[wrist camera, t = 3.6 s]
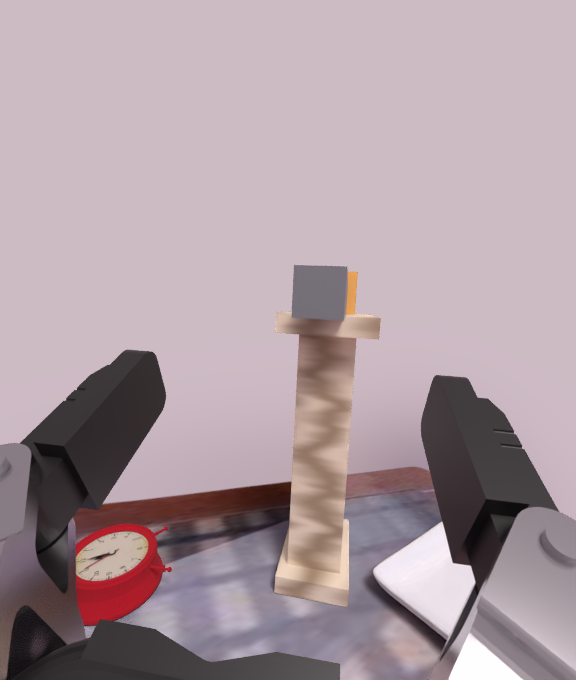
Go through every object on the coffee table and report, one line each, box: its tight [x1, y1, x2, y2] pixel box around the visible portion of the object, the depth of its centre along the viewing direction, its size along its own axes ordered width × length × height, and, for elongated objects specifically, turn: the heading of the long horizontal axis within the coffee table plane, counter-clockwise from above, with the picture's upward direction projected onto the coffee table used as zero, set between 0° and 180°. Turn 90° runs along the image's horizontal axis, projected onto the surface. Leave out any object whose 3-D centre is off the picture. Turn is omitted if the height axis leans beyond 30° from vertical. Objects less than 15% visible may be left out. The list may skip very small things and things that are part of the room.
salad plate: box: [373, 522, 475, 640], centre depth 36 cm, size 21×21×3 cm
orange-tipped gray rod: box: [292, 265, 358, 321], centre depth 34 cm, size 6×24×5 cm, turn 170°
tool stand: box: [274, 311, 380, 607], centre depth 41 cm, size 10×14×31 cm
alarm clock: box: [76, 524, 172, 625], centre depth 37 cm, size 10×6×15 cm
